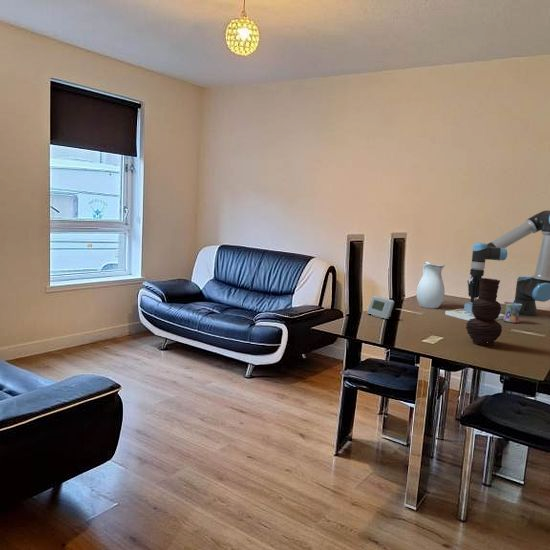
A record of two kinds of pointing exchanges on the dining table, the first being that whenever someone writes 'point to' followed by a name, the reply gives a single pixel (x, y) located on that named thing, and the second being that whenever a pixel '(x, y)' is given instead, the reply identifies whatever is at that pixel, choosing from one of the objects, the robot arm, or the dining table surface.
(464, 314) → the switch board
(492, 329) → the vase
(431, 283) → the pitcher
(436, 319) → the dining table surface
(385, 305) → the digital clock
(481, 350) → the dining table surface
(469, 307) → the tab
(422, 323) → the dining table surface
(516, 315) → the mug
